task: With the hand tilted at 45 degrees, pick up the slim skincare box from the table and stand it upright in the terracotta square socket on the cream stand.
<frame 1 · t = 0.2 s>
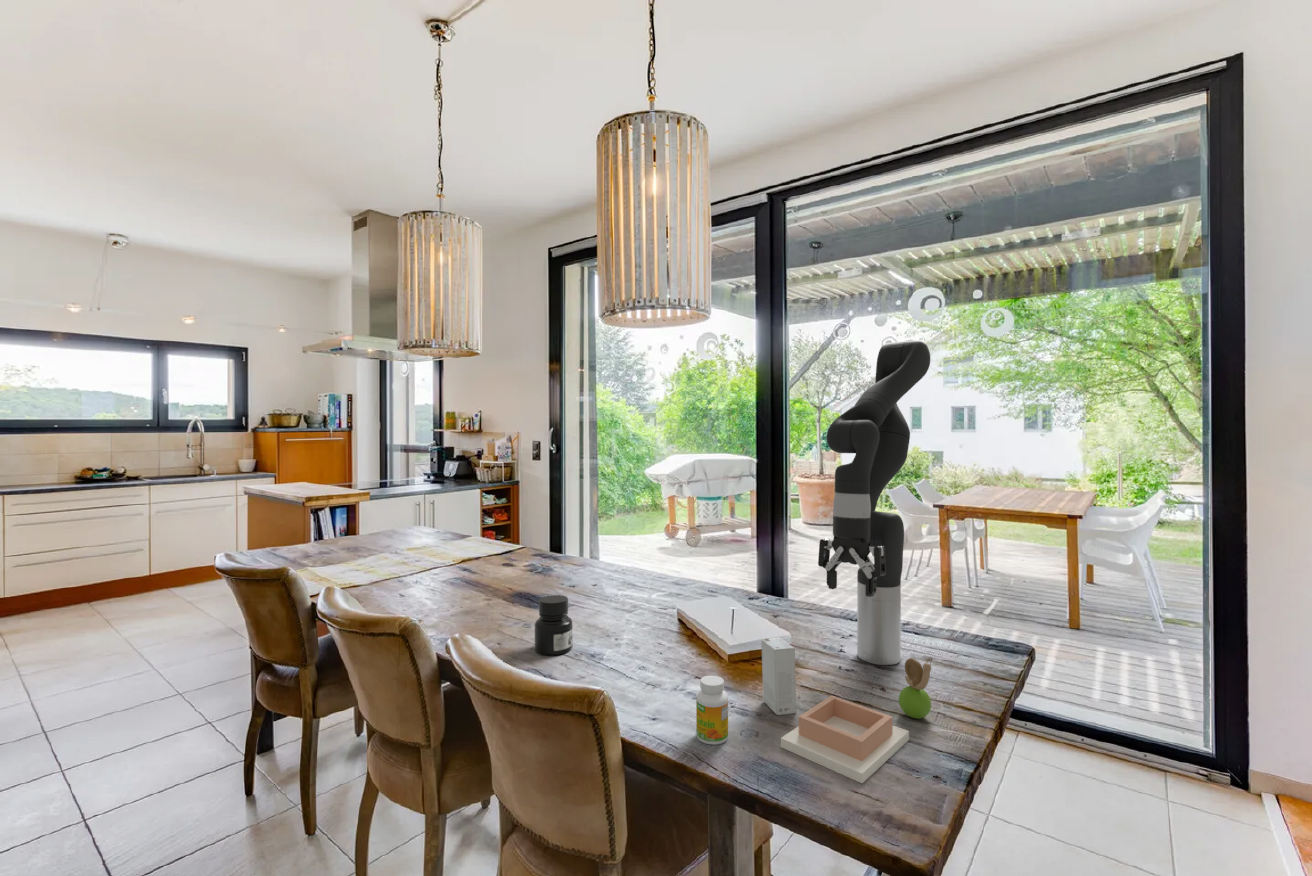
hand: (850, 592, 123), 18 cm above the table, tool pointing down, fingers open, 8 cm apart
ink bottle: (553, 650, 139), on the table
supplement bottle: (712, 738, 99), on the table
snail figurine: (916, 719, 105), on the table
socket stand: (845, 743, 97), on the table
skincare box: (778, 708, 110), on the table
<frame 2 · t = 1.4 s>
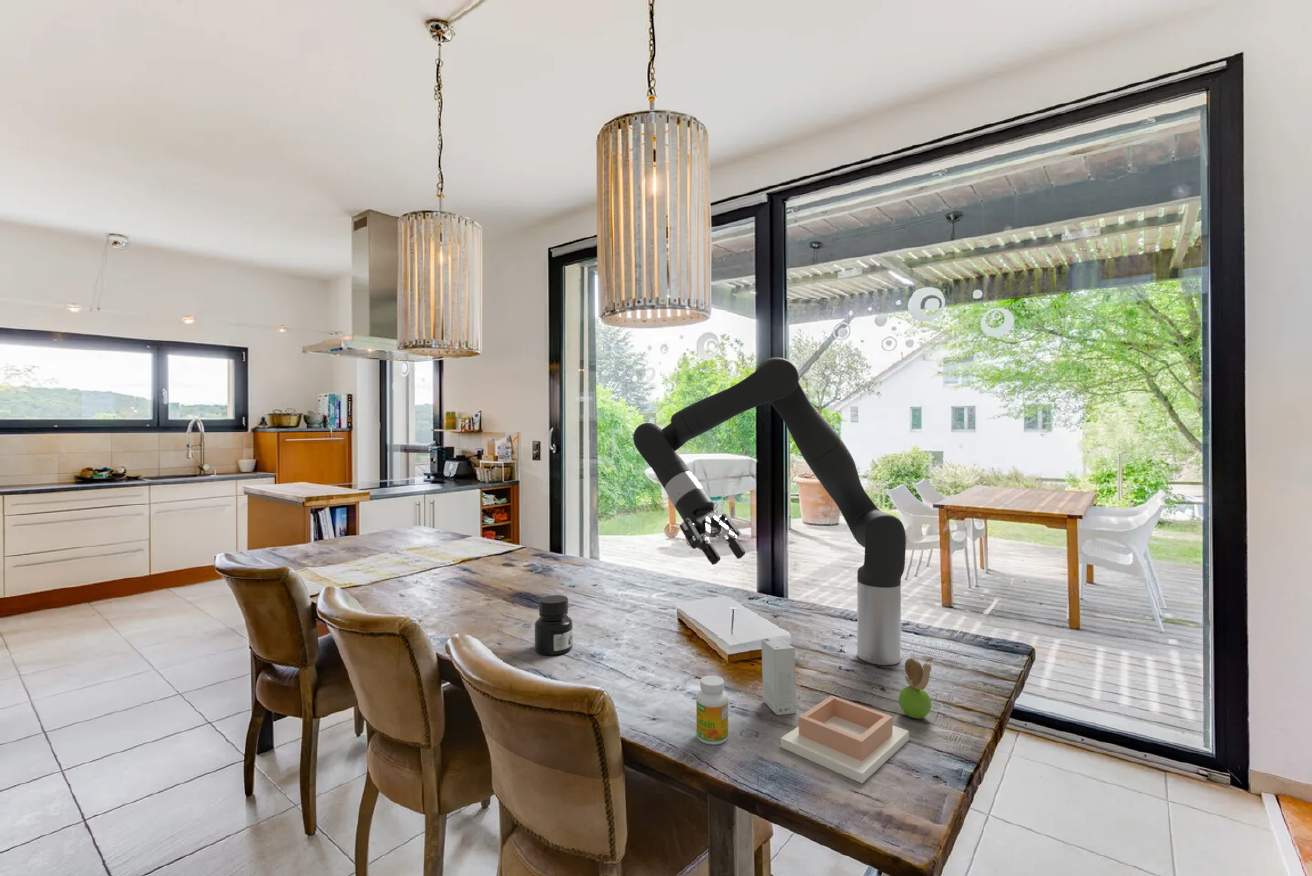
hand: (729, 559, 120), 26 cm above the table, tool tilted 45°, fingers open, 8 cm apart
nothing on the table moved.
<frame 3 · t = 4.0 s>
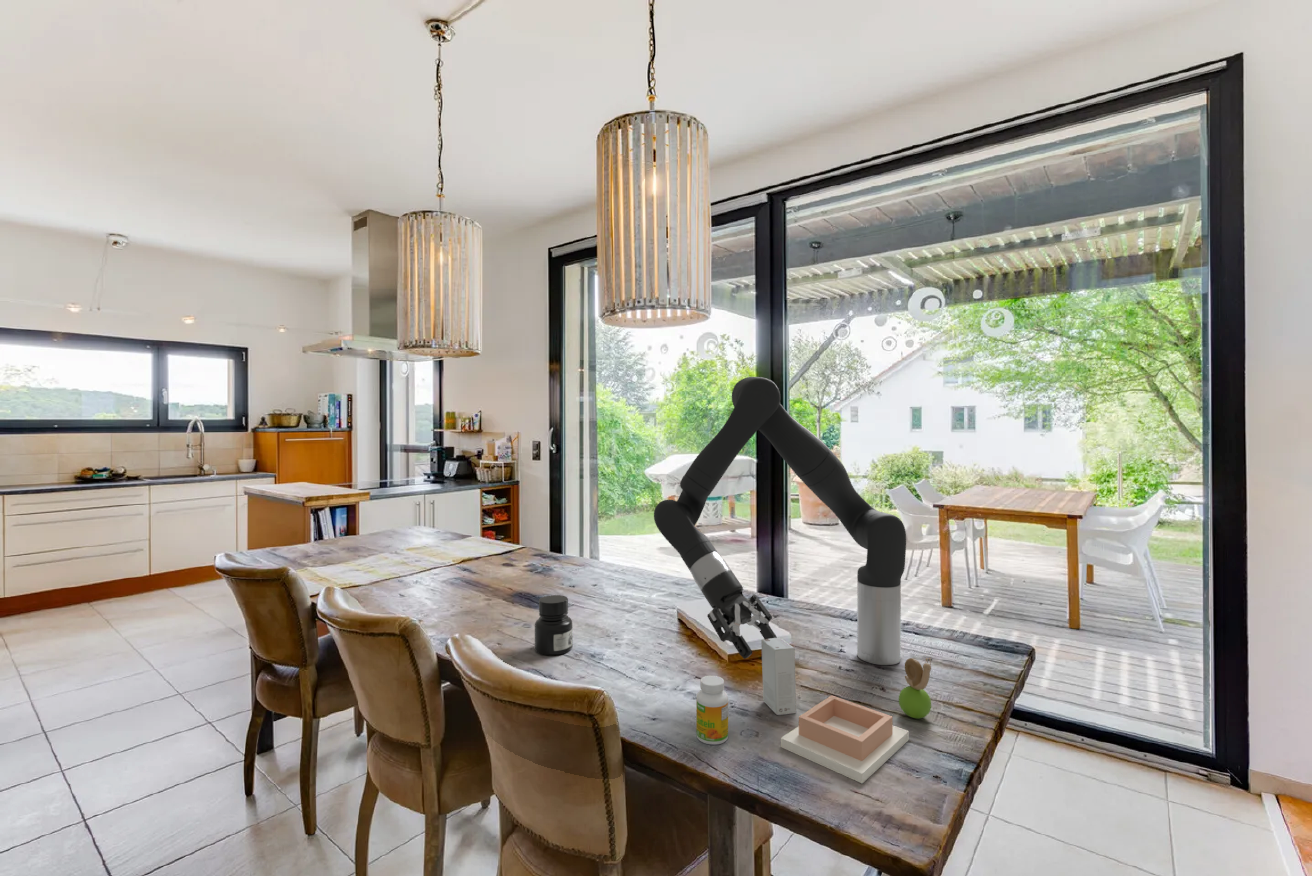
hand: (762, 650, 112), 10 cm above the table, tool tilted 45°, fingers open, 8 cm apart
nothing on the table moved.
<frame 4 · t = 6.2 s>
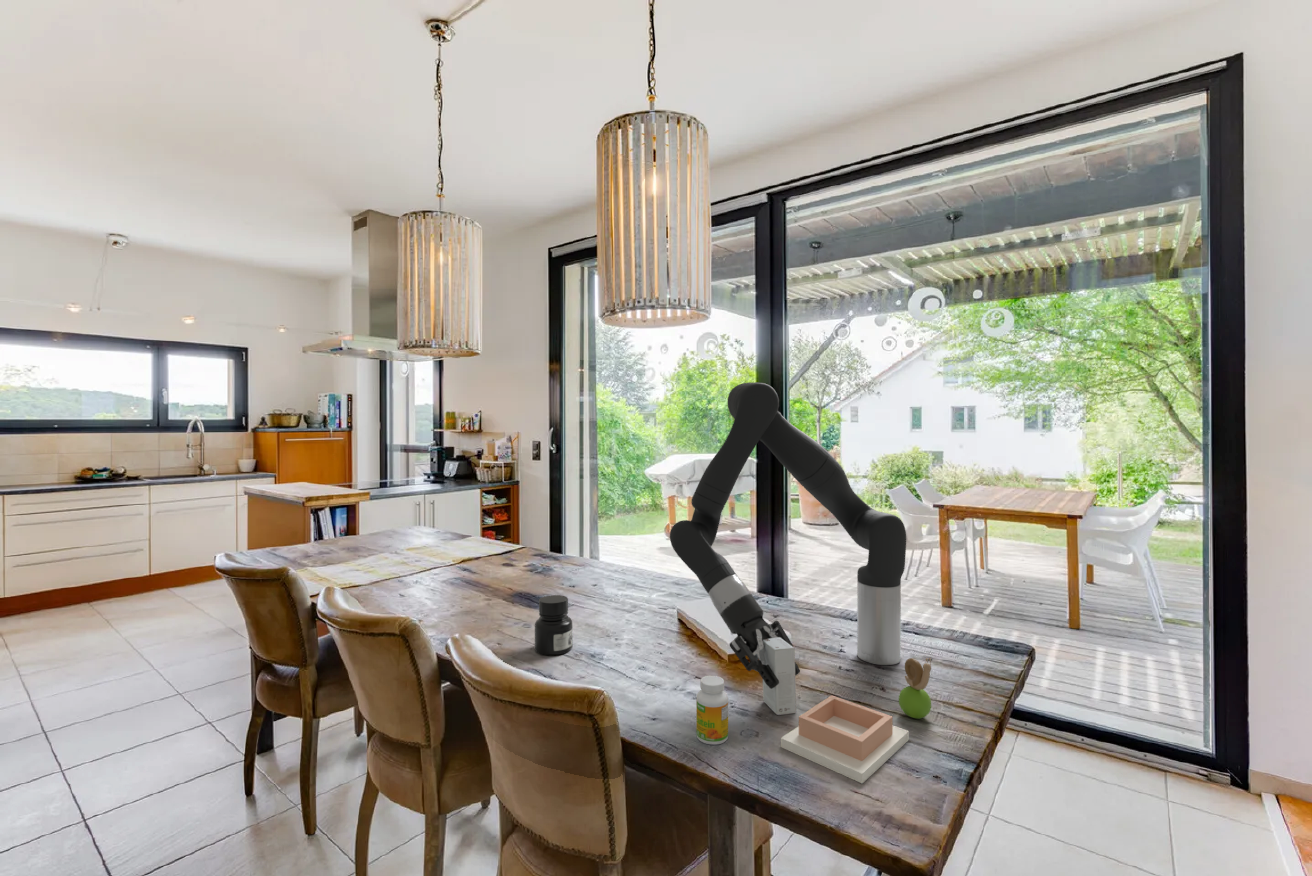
hand: (786, 680, 109), 6 cm above the table, tool tilted 45°, fingers closed on skincare box, 6 cm apart
skincare box: (778, 708, 110), on the table, touching gripper
everything else where it was.
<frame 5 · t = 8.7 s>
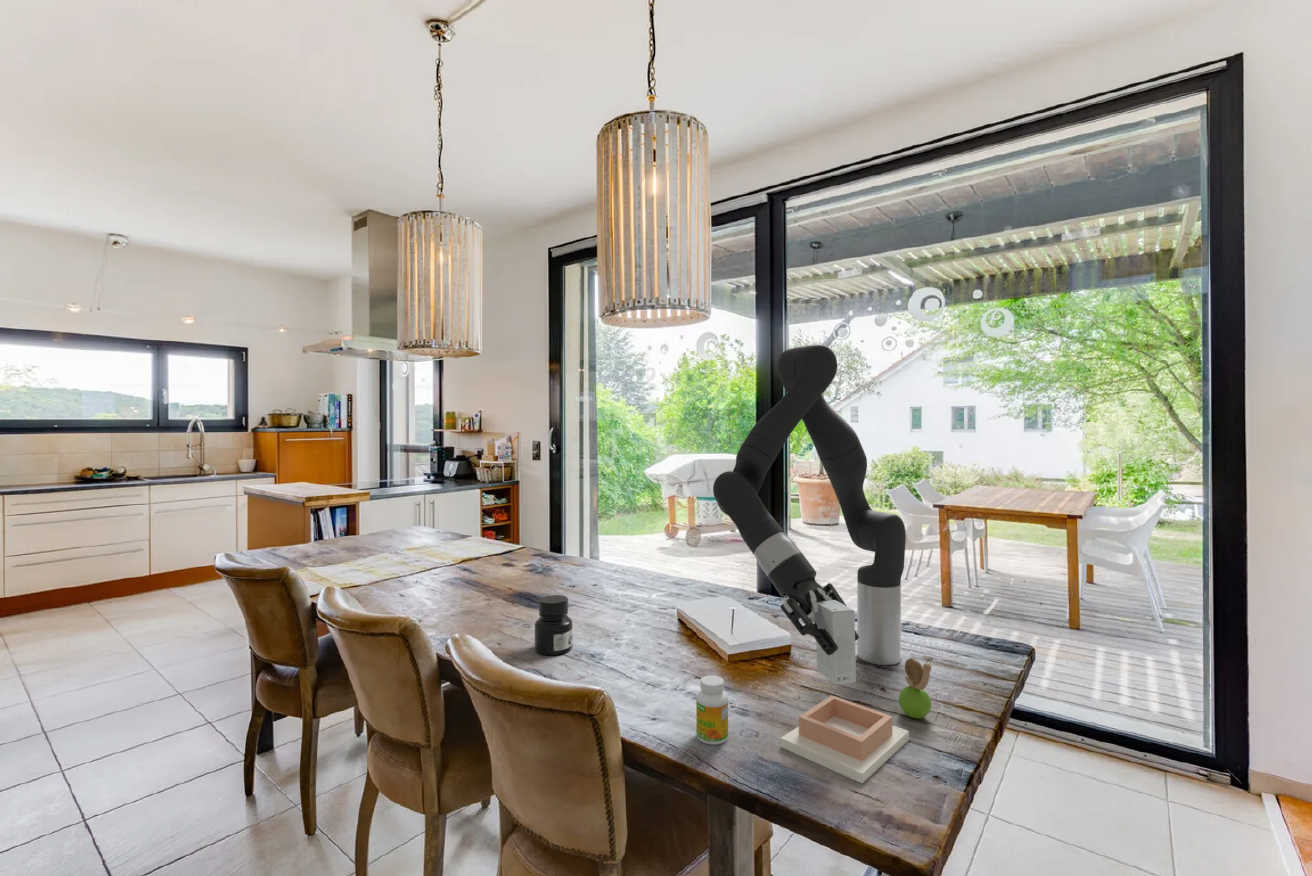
hand: (844, 646, 97), 16 cm above the table, tool tilted 45°, fingers closed on skincare box, 6 cm apart
skincare box: (835, 677, 98), point 10 cm above the table, touching gripper
everything else where it was.
when the fingers open (8 cm above the table, at t = 11.3 s): skincare box drops 1 cm, resting on socket stand.
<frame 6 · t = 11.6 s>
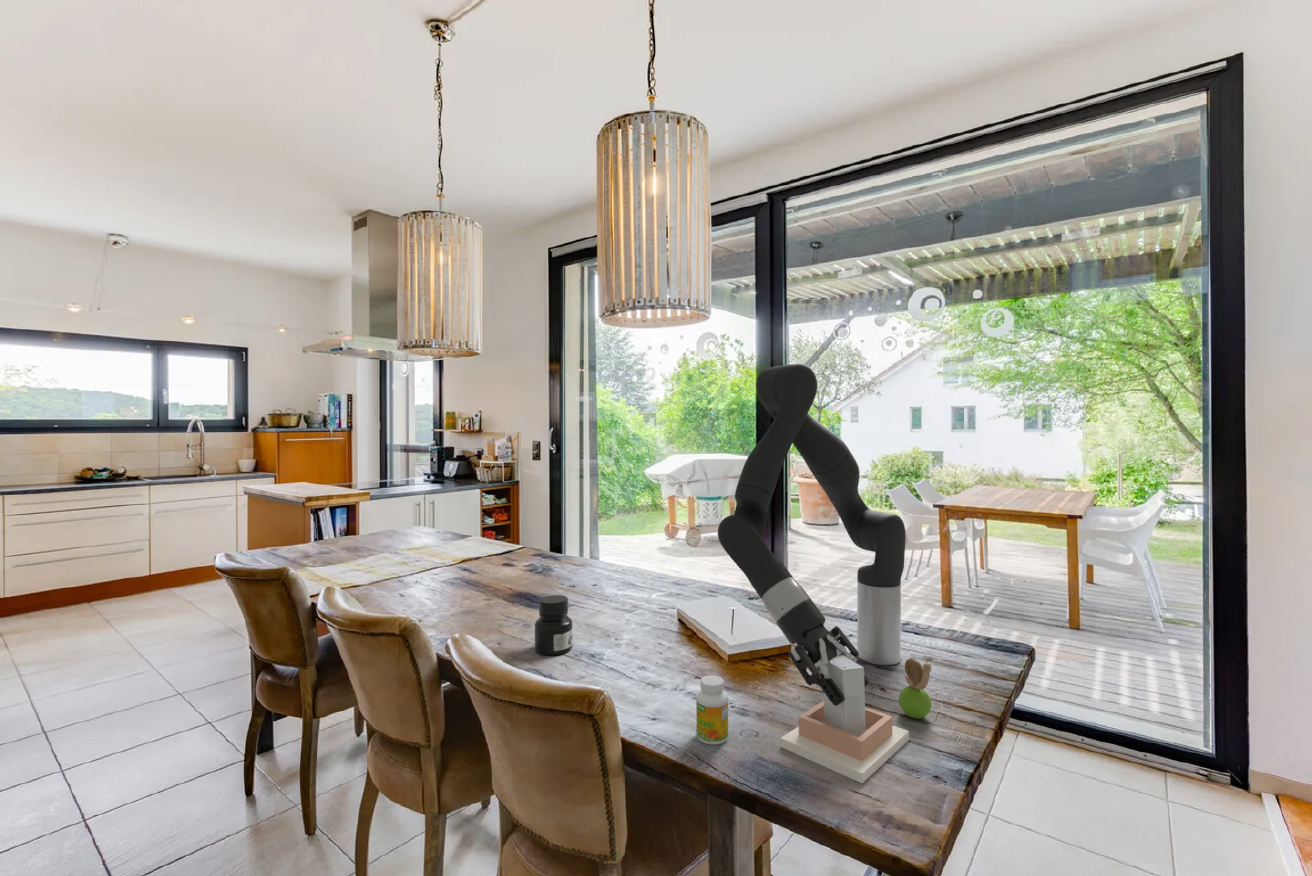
hand: (853, 694, 96), 9 cm above the table, tool tilted 45°, fingers open, 8 cm apart
skincare box: (843, 735, 97), point 1 cm above the table, touching socket stand
everything else where it was.
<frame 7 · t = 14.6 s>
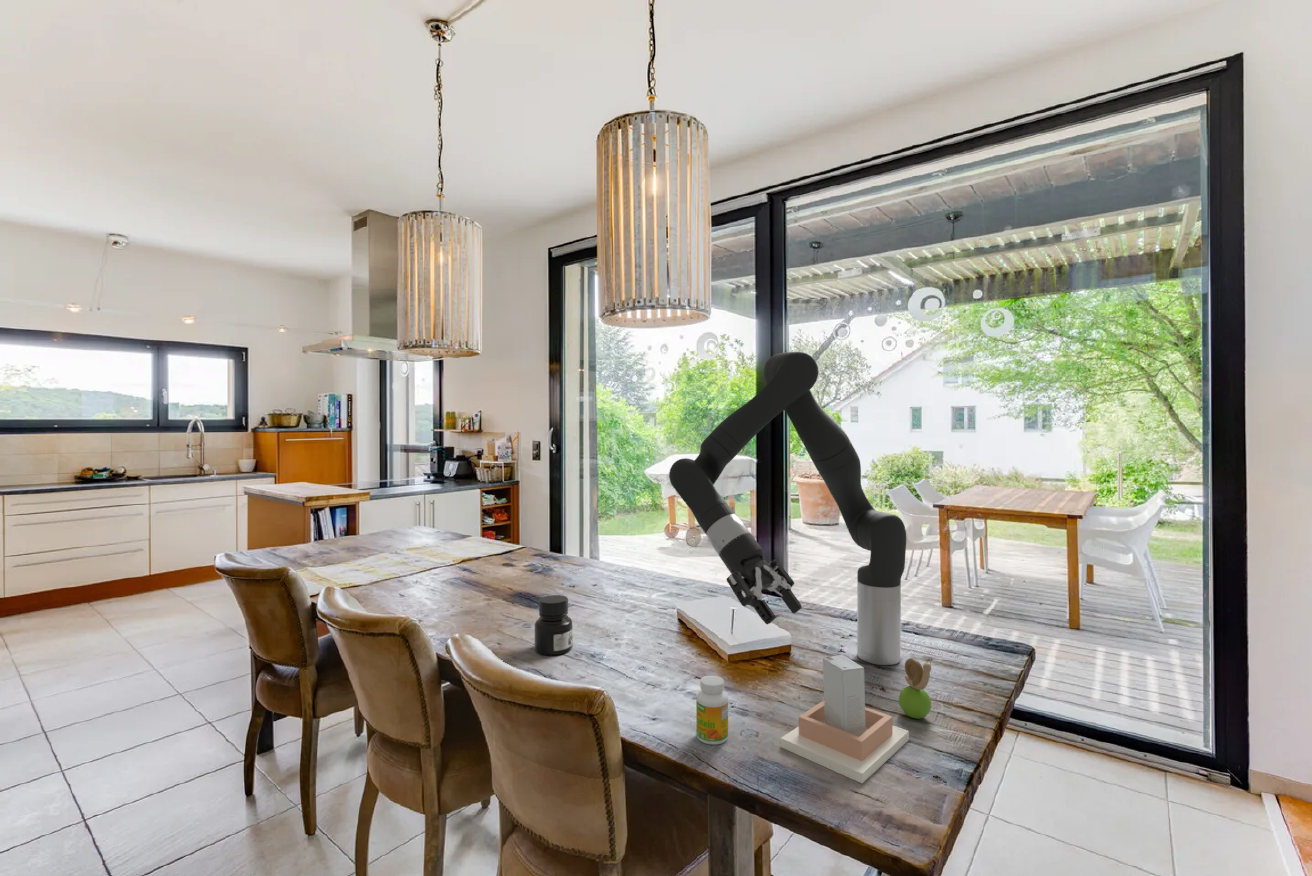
hand: (785, 616, 105), 19 cm above the table, tool tilted 45°, fingers open, 8 cm apart
nothing on the table moved.
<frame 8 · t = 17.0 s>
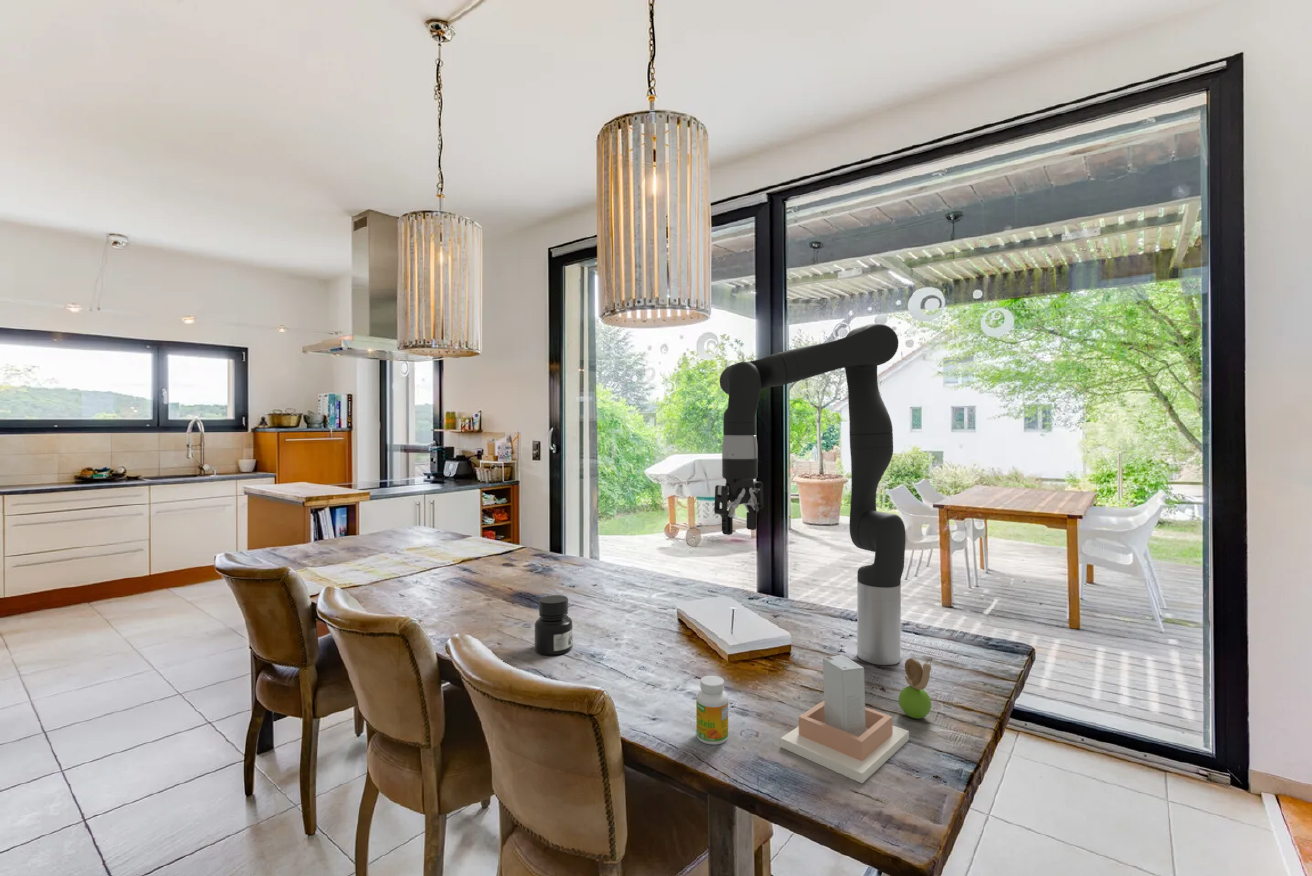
hand: (739, 531, 126), 30 cm above the table, tool pointing down, fingers open, 8 cm apart
nothing on the table moved.
at the end: skincare box 0.3 cm off-centre on the socket stand, point 1.3 cm above the socket stand's base; skincare box tilted 0°; the gripper is holding nothing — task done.
